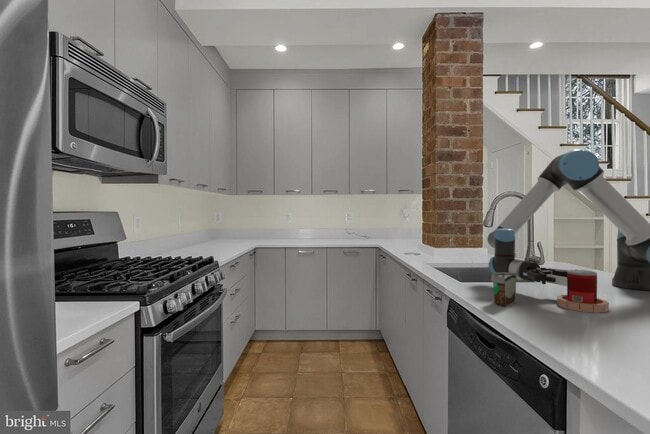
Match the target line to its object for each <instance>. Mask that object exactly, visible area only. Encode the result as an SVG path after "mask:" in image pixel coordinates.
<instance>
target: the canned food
mask: <svg viewBox="0 0 650 434" xmlns="http://www.w3.org/2000/svg"><path fill="white" fill-rule="evenodd" d="M567 270H568V271H567V286H566V295H567V300H568V301H572V302H577V303H586V304H597V298H598V274H597V272H596V271H592V270H585V269H577V270H575V269H567Z"/></svg>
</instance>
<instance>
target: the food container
mask: <svg viewBox="0 0 650 434" xmlns="http://www.w3.org/2000/svg"><path fill="white" fill-rule="evenodd" d="M490 281H491V282H492V286H493V296H494V297H493V298H494V304H495V305H497V306H500V307H504V308H506V307H509V306H510V305H512V304H514V303H515V302H516V299H517V298H516V294H517V275H516V273H510V272H498V273H492V275H491V278H490Z"/></svg>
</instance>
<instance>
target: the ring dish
mask: <svg viewBox="0 0 650 434" xmlns="http://www.w3.org/2000/svg"><path fill="white" fill-rule="evenodd" d="M556 299H557V300H556V301H557V302H556V303H557V305H558V306H559V307H561V308H562V309H567V310H571V311H576V312H585V313H606V312H608V311H609V309H610V307H609V305H610V304H609V301H608V300H606V299H603V298H599V297H597V304H586V303H577V302H572V301H568V300H567V294H560V295H557V298H556Z"/></svg>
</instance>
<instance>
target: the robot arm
mask: <svg viewBox="0 0 650 434" xmlns="http://www.w3.org/2000/svg"><path fill="white" fill-rule="evenodd" d="M604 173H605V170H604V169H603V168H601V166H600V160H599V158H598V156H597V155H596V154H594V153H593V152H592V151H590V150H588V149H572V150H570V151H567V152H565V153H562V154H560V155H558V156H556V157H554V159H552V160H551V161H550V162H549V164H548V165H547V166H546V168H545V169H544V170H543V171H542V172H541V174H540V175H539V176H538V177H537V182H536V183H535V184H534V185H533V187H532V188H530V190H529V191H528V192H527V193H526V194H525V195H524V196H523V198H521V200H520V201H519V202H518V203H517V204H516V206H515V207H514V208H513V209H512V210H511V211H510V213H508V215H507V216H506V217H505V218H504V219H503V220H502V222H501V223H500V224H499V225H498V226H497V227H496V228H495V230H493V231H492V232H490V233H489V234H488V236H487V237H486V239H487V244H488V245H489V246H491V248H493V249H494V256H492V257H491V258H490V259H489V262H488V269H489V271H490V272H491V273H492V274H493V273H498V272H510V273H516V275H517V279H516V281H521V280H523V281H527V282H530V283H531V282H532V283H533V282H537V283H541V285H546V284H547V283H548V284H553V285H558V286H564V287H567V271H568V270H569V269H561V268H551V267H548V268H547V267H540V265H539V263H537V262H536V261H531V260H524V259H516V235H517V233H518V232H519V231H520V230H521V229H522V227H524V226H525V225H526V223H527V222H528V221H529V220H530V219H531V218H532V217H533V216H534V215H535V214H536V212H537V211H538V210H539V209H540V208H541V207H542V206H543V205H544V204H545V203H546V201H547V200H548V199H549V198H550V197H551V196H552V194H554V193H555V192H559V191H560V190H561V189H562V188H563V187H564V186H565V185H567V184H568V186H570V188H572V190H574V192H575V191H576V192H577V191H578V192H582V194H584V196H585V197H586V198H587V199H588V200H589V201H590V202H591V203H592V204H593V205H594V206H595V207H596V208H597V209H598V210H599V211H600V212H601V213H602V214H603V215H604V216H605V217H606V218H607V219H608V221H610V223H611V224H612V225H614V227H616V228H617V230H619V232H618V233H617V239H616V247H617V251H616V256H617V257H616V261H617V263H616V264H617V265H616V269H615V272H614V275H613V277H612V278H611V285H612V286H614V287H618V288H623V289H629V290H638V291H639V290H640V291H650V223H649V221H648V219H646V218H645V217H644V216H643V215H642V214H641V213H640V212H639V211H638V210H637V209H636V208H635V207H634V206H633V205H632V204H631V203H630V202H629V201H628V200H627V199H626V198H625V197H624V196H623V195H622V194H621V193H620V192H619V191H618V190H617V189H616V188H615V187H614V186H613V185H612V184H611V183H610V182H609V181H608V180H607V179H606V178H605V176H604ZM574 270H578V269H574Z"/></svg>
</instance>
